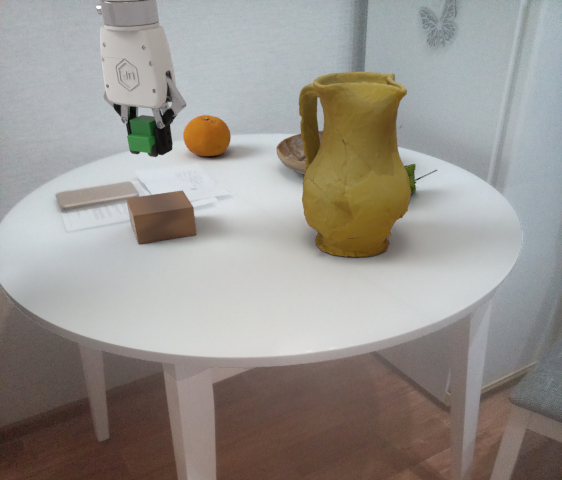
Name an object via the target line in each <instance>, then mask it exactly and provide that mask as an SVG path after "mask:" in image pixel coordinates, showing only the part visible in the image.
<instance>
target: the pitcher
mask: <svg viewBox="0 0 562 480" xmlns="http://www.w3.org/2000/svg"><path fill="white" fill-rule="evenodd" d="M407 93H408V90H407V88H406V86H405V85H403V84H401V83H400V82H397V81H396V75H395V73H386V72H383V73H382V72H375V71H347V72H330V73H327V74H322V75H320V76H317V77H316V78H314V79H313V81H312V82H310V83H308V84H306V85H304V86H303V87H302V88H301V90H300V92H299V97H298V115H299V116H300V117H301V119H300V126H299V127H300V134H301V138H302V140H303V141H304V155H305V157H306V162H305V172H306V174H305V175H303V179H302V180H303V181H302V196H301V203H302V208H303V215H304V219H305V221H306V224H307V225H308V226H309V228H311V229H313V230H314V231H316V232H317V234H316V237H315V238H314V244H315V246H316V248H318V249H320V250H319V251H321V252H324V253H327V254H328V255H332V256H338V257H344V258H347V257H349V258H350V257H352V258H359V257H361V258H364V257H366V258H368V257H374V256H378V255H380V254H383V253H385V252H387V251H388V250H389V245H390V240H389V239H388V237H391V236H392V233H391V230H392V228H393V226H394V224H395V223H396V221H398V220H400V219H403V217H404V216H406V213H408V211H409V205H410V200H411V195H412V193H411V190H410V182H409V177H408V174H407V171H406V169H405V167H404V166H405V165H404V163H403V161H402V158H401V156H400V152H399V145H398V135H397V134H398V132H397V131H398V130H397V119H398V113H399V111H398V109H399V108H400V104H401V101H402V100H403V98H404V97H406V96H407ZM318 99H319V103H320V106H321V108H322V113H323V128H322V131H323V136H322V141H321V144H320V138H319V131H320V130H319V122H318Z"/></svg>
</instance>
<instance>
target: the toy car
mask: <svg viewBox="0 0 562 480" xmlns="http://www.w3.org/2000/svg"><path fill="white" fill-rule="evenodd" d="M130 126H131V131H132V134H130V135H128V134H127V135H126V137H127V143H128V149H129V152H130V153H131V154H133V155H140V153H144V154H147V156H149V157H152V158H157V157H158V156H160V155H159V154H158V151H157V145H156V139H155V132H154V129H155V128H157V124H156V121H155V118H154V115H145V114H141V115H138V117H136V118H134V119H132V120H130ZM173 145H174V143H173V141H172V146H173Z"/></svg>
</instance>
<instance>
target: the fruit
mask: <svg viewBox="0 0 562 480" xmlns="http://www.w3.org/2000/svg"><path fill="white" fill-rule="evenodd" d="M231 136H232V135H231V130H230V128H229V126H228V124H227V123H226V122H225V121H224V120H223V119H221V118H220V117H217V116H214V115H210V114H209V115H206V114H203V115H199V116H196V117H194V118H192V119H191V120H190V121H189V122H188V123H187V124H186V125H185V127H184V129H183V142H184V145H185V147H186V148H187V150H188V151H190V152H191V153H192V154H194V155H195V156H201V157H217V156H220V155H223V153H225V152H226V151H227V149H228V148H229V146H230V144H231V138H232V137H231Z"/></svg>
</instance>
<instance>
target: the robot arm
mask: <svg viewBox="0 0 562 480" xmlns="http://www.w3.org/2000/svg"><path fill="white" fill-rule="evenodd" d="M157 2H158V1H157V0H99V3H97V5H96V12H97V13H98V15H99V16H102V20H103V24H104V25H102V26H100V27H99V31H100V32H99V49H100V51H99V52H100V63H101V71H102V77H103V78H102V79H103V83H104V93H103V100H104V101H105V102H106V103H108V105H109V106H111V107H112V108H113V110H114V111H115V112H116V113H117V115H118V116H119V117H120V120H121V123H122V124H123V125H125V127H126V133H127V136H128V135H130V134H132V131H131V126H130V120H132V119H134V118H136V117H139V108H144V109H151V112H152V116H154V118H155V121H156V124H157V128H155V129H154V132H155V139H156V145H157V151H158V154H159V155H158V156H164V155H166V154H168V153H170V152H171V151H173V145H172V142H173V136H172V129H171V125H172V124H174V120H175V119H176V117H177V116H178V115H179V114H180V113H181V112H182V111H183V110H184V109H185V108H186V107H187V102H186V101H185V99H184V97H183V96H182V94H181V93H180V91H179V89H178V88H177V82H176V76H175V75H176V74H175V69H174V63H173V58H172V54H171V49H170V45H169V42H168V39H167V35H166V31H165V29H164V26H163V25H160V19H159V18H160V17H159V11H158V4H157ZM169 103H171V106H169Z"/></svg>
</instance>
